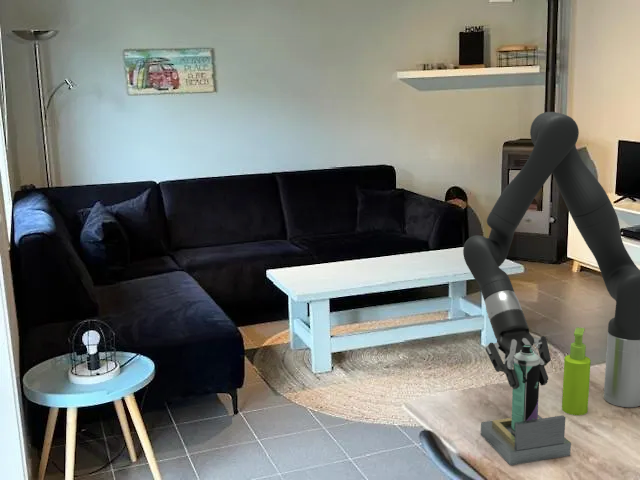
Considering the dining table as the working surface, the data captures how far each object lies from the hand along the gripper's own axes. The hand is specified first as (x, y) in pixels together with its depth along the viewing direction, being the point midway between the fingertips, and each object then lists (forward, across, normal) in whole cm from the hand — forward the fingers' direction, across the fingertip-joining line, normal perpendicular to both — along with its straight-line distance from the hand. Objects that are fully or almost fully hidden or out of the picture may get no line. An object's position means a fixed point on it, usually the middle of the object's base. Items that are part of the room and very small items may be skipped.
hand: (530, 385), depth 161 cm
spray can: (+7, 0, +10) cm, 12 cm away
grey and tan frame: (+9, 0, +12) cm, 15 cm away
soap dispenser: (+1, +20, +20) cm, 28 cm away
